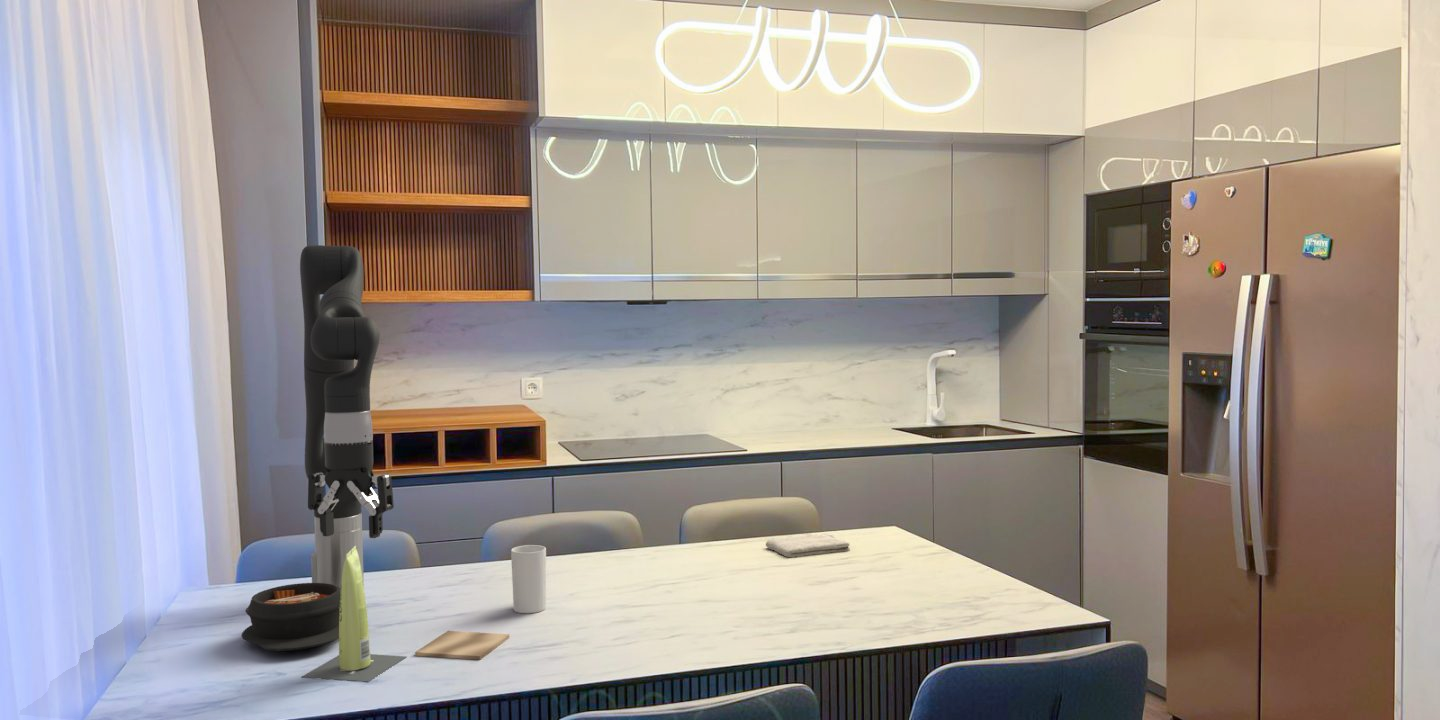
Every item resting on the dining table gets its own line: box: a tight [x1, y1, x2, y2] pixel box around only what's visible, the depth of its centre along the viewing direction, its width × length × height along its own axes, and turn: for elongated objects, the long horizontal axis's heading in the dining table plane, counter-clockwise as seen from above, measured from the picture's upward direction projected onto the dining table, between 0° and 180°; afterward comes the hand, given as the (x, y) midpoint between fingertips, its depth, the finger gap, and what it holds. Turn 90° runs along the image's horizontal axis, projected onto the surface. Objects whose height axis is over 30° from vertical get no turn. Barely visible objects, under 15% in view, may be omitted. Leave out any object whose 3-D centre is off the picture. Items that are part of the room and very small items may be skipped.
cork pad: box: [414, 630, 511, 661], centre depth 181 cm, size 12×12×1 cm
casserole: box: [240, 582, 341, 652], centre depth 187 cm, size 25×19×8 cm
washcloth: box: [765, 533, 851, 558], centre depth 251 cm, size 12×18×3 cm, turn 114°
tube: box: [338, 546, 371, 671], centre depth 171 cm, size 6×5×20 cm
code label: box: [300, 653, 408, 683], centre depth 171 cm, size 12×12×1 cm
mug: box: [510, 544, 547, 614], centre depth 205 cm, size 10×7×12 cm, turn 9°
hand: (351, 536), depth 170 cm, fingers open, 8 cm apart
